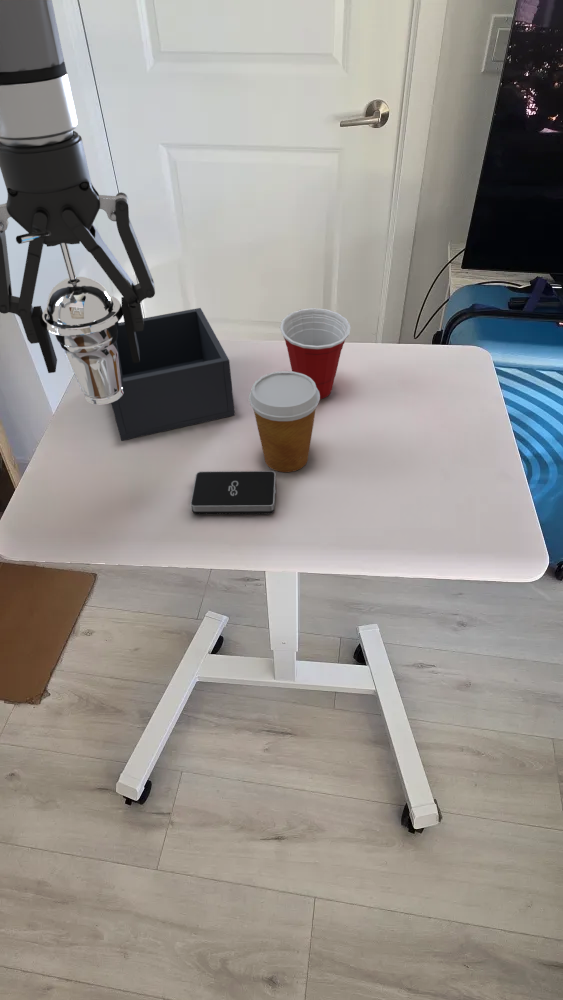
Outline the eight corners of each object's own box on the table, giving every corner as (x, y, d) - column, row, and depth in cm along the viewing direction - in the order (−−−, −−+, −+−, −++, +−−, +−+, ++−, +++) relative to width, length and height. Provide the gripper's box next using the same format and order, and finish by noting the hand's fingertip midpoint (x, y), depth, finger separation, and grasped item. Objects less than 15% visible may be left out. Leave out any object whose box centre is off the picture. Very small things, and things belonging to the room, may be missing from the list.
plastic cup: (299, 417, 98) (298, 349, 90) (271, 383, 105) (268, 317, 97) (359, 399, 101) (364, 331, 93) (329, 367, 108) (330, 302, 100)
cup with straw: (154, 395, 73) (116, 217, 59) (81, 426, 69) (23, 243, 55) (120, 366, 78) (79, 196, 64) (51, 393, 74) (-8, 218, 60)
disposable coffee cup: (331, 450, 92) (333, 380, 83) (297, 488, 86) (295, 417, 78) (276, 431, 96) (273, 362, 87) (240, 466, 90) (233, 396, 82)
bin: (121, 441, 95) (106, 384, 88) (105, 380, 108) (91, 327, 101) (235, 415, 99) (229, 359, 92) (207, 360, 111) (200, 307, 105)
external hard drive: (198, 482, 88) (196, 471, 86) (277, 481, 87) (276, 470, 86) (191, 517, 82) (189, 506, 81) (275, 516, 82) (274, 505, 81)
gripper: (156, 116, 59) (186, 334, 74) (-82, 133, 56) (1, 356, 72) (160, 135, 53) (192, 367, 69) (-103, 155, 51) (-9, 391, 66)
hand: (94, 361), depth 70 cm, fingers closed on cup with straw, 8 cm apart
